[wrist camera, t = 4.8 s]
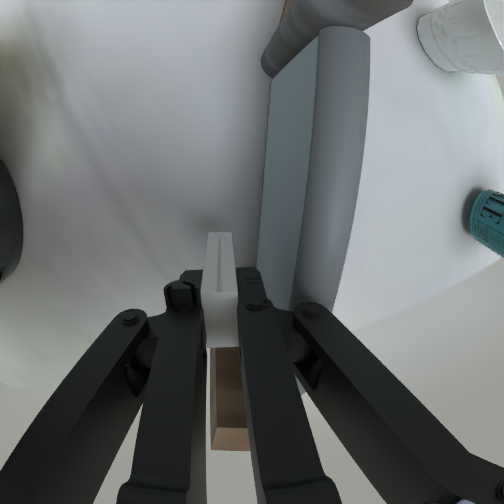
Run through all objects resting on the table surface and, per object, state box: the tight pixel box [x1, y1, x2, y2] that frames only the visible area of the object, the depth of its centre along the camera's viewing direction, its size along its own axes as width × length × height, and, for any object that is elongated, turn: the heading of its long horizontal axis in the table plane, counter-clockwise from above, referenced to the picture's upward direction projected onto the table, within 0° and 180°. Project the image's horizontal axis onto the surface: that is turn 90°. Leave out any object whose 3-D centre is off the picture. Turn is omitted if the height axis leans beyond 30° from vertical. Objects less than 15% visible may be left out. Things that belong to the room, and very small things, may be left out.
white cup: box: [417, 0, 504, 75], centre depth 11 cm, size 8×8×10 cm
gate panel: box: [256, 26, 370, 395], centre depth 14 cm, size 16×2×12 cm, turn 176°
